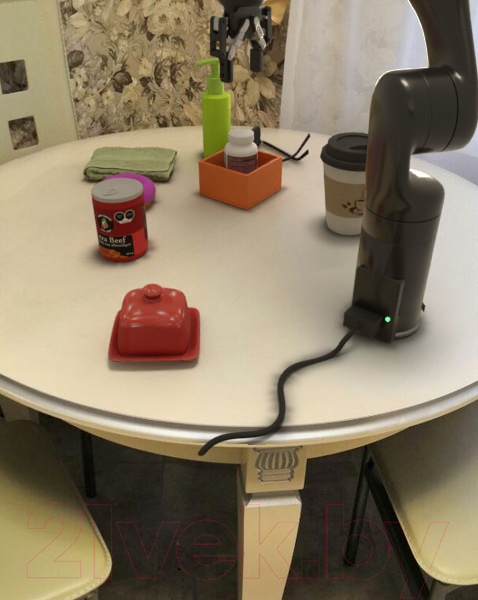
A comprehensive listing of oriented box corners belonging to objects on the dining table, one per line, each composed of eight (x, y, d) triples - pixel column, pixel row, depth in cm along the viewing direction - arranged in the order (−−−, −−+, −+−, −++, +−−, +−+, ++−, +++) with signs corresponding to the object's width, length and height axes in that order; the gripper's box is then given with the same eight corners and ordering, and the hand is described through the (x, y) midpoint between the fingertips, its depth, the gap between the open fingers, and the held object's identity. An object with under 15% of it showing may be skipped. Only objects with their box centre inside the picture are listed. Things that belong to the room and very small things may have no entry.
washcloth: (171, 183, 121) (170, 168, 119) (82, 183, 121) (79, 167, 120) (178, 158, 132) (177, 143, 130) (96, 157, 132) (94, 142, 130)
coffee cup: (329, 245, 101) (337, 159, 93) (305, 215, 110) (310, 133, 102) (392, 236, 104) (406, 151, 95) (363, 207, 113) (373, 126, 104)
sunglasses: (303, 179, 123) (304, 155, 120) (233, 172, 126) (233, 148, 123) (316, 149, 136) (318, 126, 133) (253, 143, 139) (253, 121, 136)
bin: (247, 210, 112) (247, 176, 108) (199, 194, 117) (198, 161, 113) (281, 189, 119) (282, 156, 115) (234, 174, 125) (234, 143, 121)
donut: (149, 216, 110) (147, 192, 107) (93, 213, 111) (90, 189, 108) (161, 191, 118) (159, 169, 116) (109, 189, 119) (106, 166, 117)
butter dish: (201, 313, 86) (198, 261, 81) (199, 368, 77) (197, 313, 72) (118, 314, 86) (111, 262, 81) (106, 370, 76) (97, 315, 71)
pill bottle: (263, 190, 117) (265, 134, 111) (236, 198, 114) (236, 141, 108) (245, 179, 121) (245, 124, 115) (218, 186, 119) (217, 131, 112)
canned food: (90, 255, 99) (79, 192, 92) (120, 234, 104) (112, 173, 98) (129, 267, 96) (121, 203, 89) (158, 244, 102) (152, 182, 95)
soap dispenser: (195, 153, 134) (190, 57, 122) (224, 148, 136) (222, 53, 125) (205, 163, 129) (201, 64, 118) (235, 158, 132) (234, 60, 120)
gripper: (234, -23, 90) (234, 90, 100) (286, -33, 100) (282, 71, 109) (194, -27, 94) (198, 82, 103) (248, -36, 103) (248, 65, 113)
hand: (241, 76), depth 106 cm, fingers open, 8 cm apart
